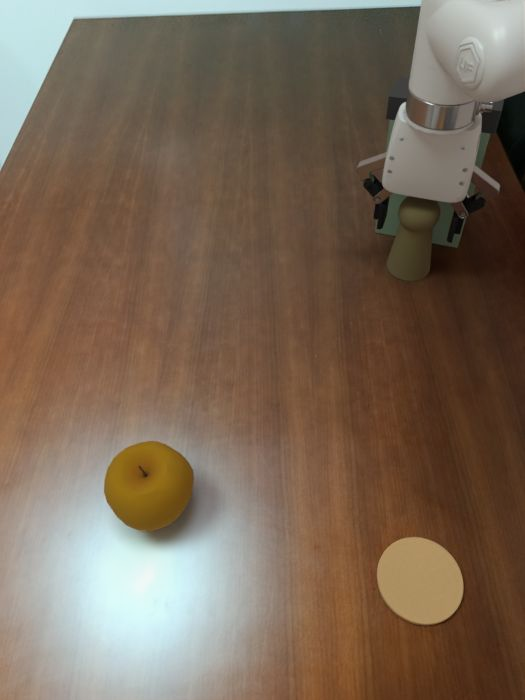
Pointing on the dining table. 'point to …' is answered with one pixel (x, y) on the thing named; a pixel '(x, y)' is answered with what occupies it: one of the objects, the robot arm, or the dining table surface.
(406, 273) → the pepper shaker
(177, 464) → the apple
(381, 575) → the cork mat
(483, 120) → the green box with lid
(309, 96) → the dining table surface
